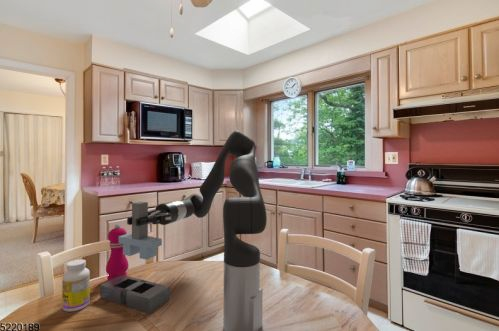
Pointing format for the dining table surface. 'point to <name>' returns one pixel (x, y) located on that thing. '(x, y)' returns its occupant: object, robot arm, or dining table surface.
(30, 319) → the dining table surface
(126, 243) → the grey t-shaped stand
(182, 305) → the dining table surface
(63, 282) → the supplement bottle
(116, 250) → the pepper mill
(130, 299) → the dark grey rectangular block
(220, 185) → the robot arm
